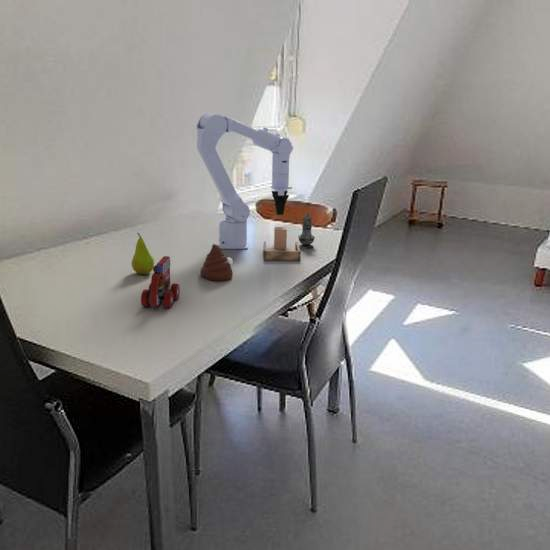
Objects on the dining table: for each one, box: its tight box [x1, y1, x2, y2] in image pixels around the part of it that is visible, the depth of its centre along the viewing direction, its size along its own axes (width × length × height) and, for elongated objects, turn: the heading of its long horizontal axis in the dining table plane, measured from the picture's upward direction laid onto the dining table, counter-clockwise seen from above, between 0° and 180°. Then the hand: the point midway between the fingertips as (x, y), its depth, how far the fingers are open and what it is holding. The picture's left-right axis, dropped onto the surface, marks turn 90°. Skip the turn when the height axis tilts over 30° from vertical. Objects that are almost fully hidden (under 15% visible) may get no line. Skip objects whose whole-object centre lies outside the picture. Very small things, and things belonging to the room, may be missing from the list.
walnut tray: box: [263, 240, 302, 262], centre depth 158 cm, size 11×12×3 cm
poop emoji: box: [199, 243, 234, 283], centre depth 136 cm, size 10×8×9 cm
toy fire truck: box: [140, 255, 181, 309], centre depth 116 cm, size 7×12×10 cm, turn 175°
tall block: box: [273, 226, 288, 249], centre depth 165 cm, size 4×4×7 cm
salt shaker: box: [297, 212, 316, 250], centre depth 167 cm, size 6×6×12 cm
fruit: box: [131, 232, 155, 275], centre depth 136 cm, size 6×6×12 cm
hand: (279, 212), depth 172 cm, fingers open, 6 cm apart
